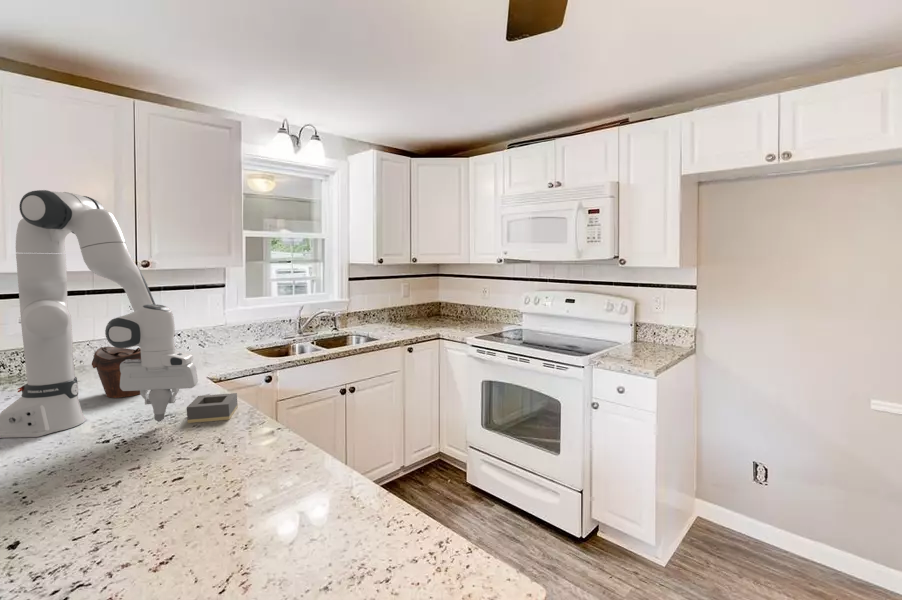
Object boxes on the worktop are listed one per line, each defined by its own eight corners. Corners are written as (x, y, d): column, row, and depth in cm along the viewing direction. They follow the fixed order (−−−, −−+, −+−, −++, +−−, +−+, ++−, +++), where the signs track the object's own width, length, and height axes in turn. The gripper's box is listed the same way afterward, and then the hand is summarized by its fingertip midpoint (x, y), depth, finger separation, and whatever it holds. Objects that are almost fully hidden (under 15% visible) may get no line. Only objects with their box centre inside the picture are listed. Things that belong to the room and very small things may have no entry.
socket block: (187, 422, 143) (186, 407, 142) (199, 410, 154) (198, 395, 154) (229, 419, 146) (228, 404, 145) (237, 407, 157) (236, 393, 157)
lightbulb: (159, 425, 136) (161, 389, 135) (142, 422, 137) (143, 386, 136) (175, 419, 142) (177, 384, 141) (158, 417, 143) (160, 382, 142)
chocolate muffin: (160, 393, 173) (156, 346, 171) (93, 404, 162) (88, 354, 160) (158, 383, 188) (154, 340, 186) (96, 392, 177) (92, 346, 175)
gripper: (114, 361, 133) (116, 408, 134) (191, 359, 137) (193, 404, 138) (124, 357, 139) (126, 402, 140) (198, 355, 143) (200, 398, 144)
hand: (160, 403), depth 139 cm, fingers closed on lightbulb, 5 cm apart
